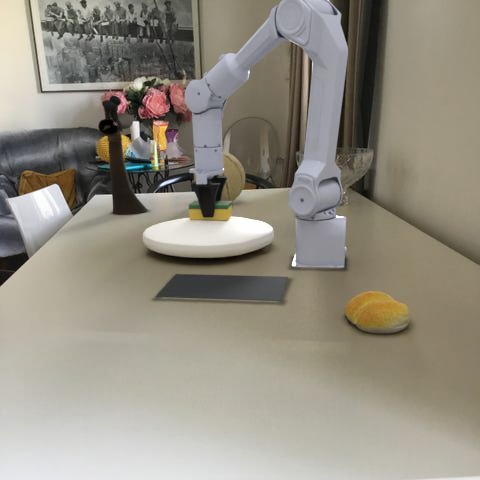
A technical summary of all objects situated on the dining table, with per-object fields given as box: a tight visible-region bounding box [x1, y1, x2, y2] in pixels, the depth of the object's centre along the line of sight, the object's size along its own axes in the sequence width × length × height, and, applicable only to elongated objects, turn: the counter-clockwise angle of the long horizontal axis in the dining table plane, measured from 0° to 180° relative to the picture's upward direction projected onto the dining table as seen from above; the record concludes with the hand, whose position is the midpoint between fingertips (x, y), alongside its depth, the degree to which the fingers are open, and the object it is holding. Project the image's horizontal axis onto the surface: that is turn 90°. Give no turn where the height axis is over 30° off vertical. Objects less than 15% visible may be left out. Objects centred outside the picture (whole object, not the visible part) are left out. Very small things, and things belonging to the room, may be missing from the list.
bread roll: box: [344, 290, 411, 334], centre depth 78 cm, size 8×9×4 cm
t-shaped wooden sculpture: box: [97, 95, 148, 215], centre depth 151 cm, size 32×10×30 cm, turn 4°
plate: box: [142, 215, 275, 259], centre depth 116 cm, size 28×6×27 cm
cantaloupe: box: [193, 151, 246, 202], centre depth 161 cm, size 15×15×15 cm
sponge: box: [188, 200, 233, 220], centre depth 117 cm, size 8×5×3 cm, turn 80°
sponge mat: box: [155, 273, 289, 302], centre depth 94 cm, size 20×12×1 cm, turn 80°
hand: (211, 214), depth 118 cm, fingers closed on sponge, 5 cm apart
